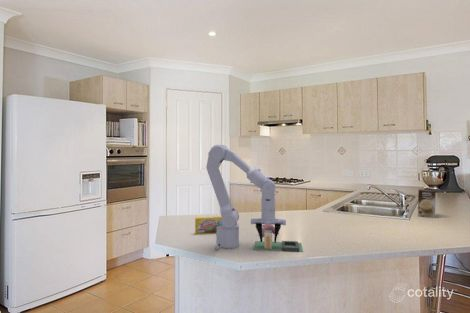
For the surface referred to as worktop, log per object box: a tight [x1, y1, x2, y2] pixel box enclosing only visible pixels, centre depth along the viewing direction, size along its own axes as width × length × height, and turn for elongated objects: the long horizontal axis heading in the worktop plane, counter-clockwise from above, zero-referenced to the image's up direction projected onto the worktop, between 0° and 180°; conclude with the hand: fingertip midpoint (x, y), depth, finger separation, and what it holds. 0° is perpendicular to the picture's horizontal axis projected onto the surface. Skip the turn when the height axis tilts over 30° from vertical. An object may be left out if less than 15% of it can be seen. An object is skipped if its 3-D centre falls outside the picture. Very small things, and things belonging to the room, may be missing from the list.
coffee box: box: [417, 189, 436, 219], centre depth 190 cm, size 9×6×16 cm
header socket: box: [281, 240, 300, 253], centre depth 127 cm, size 7×9×2 cm
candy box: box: [194, 215, 222, 235], centre depth 154 cm, size 16×2×8 cm, turn 101°
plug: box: [263, 230, 273, 249], centre depth 128 cm, size 3×5×6 cm, turn 172°
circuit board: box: [252, 240, 304, 253], centre depth 130 cm, size 20×12×1 cm, turn 82°
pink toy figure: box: [262, 224, 279, 238], centre depth 147 cm, size 10×5×7 cm, turn 141°
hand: (268, 241), depth 129 cm, fingers open, 5 cm apart
